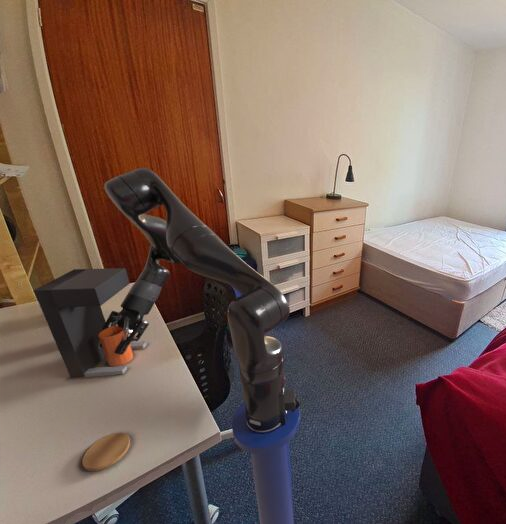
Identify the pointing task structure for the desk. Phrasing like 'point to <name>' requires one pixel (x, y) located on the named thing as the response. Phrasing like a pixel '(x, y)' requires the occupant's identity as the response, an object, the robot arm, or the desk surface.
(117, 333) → the cup
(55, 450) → the desk surface
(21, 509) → the desk surface
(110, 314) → the robot arm
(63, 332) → the coffee maker
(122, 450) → the coaster
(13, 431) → the desk surface
